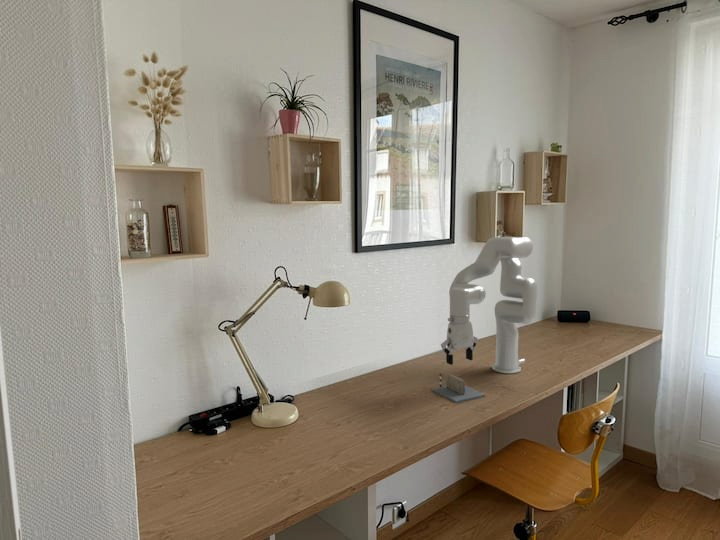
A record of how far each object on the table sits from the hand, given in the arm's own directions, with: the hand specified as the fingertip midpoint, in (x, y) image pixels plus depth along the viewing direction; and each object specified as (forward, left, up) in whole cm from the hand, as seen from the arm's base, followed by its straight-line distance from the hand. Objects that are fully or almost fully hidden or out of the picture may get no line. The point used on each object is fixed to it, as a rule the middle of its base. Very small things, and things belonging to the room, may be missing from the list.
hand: (459, 361), depth 198 cm
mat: (+1, 0, -13) cm, 13 cm away
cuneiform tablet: (+2, -2, -12) cm, 13 cm away
